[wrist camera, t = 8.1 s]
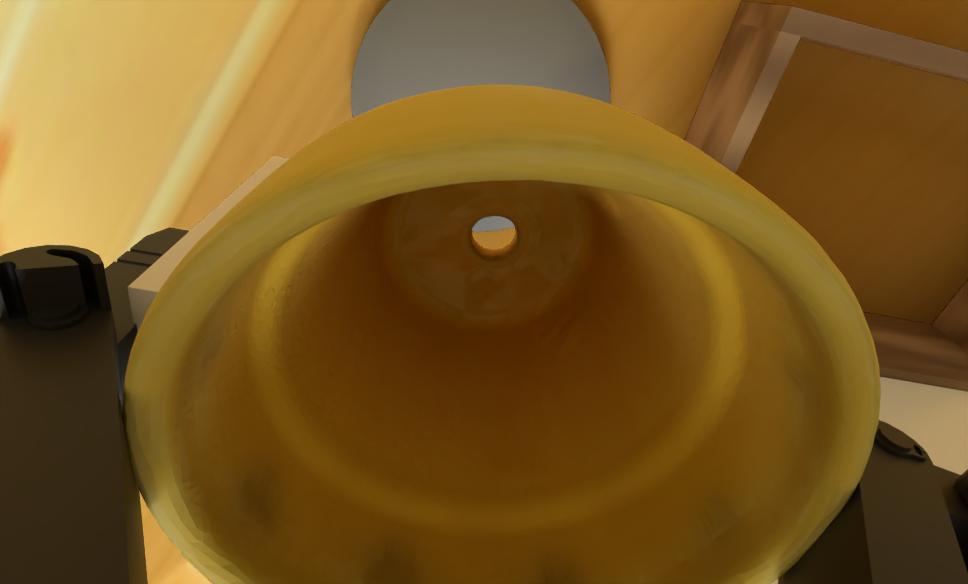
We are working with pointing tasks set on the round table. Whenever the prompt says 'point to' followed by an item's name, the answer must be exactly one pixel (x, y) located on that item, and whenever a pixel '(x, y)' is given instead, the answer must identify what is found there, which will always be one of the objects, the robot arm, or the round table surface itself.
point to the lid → (929, 420)
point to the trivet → (477, 53)
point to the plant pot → (501, 361)
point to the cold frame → (738, 112)
